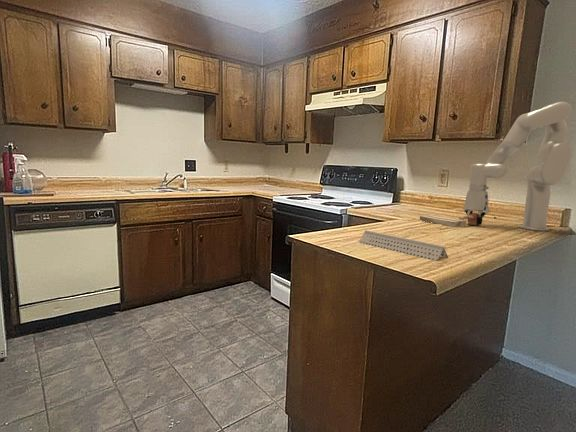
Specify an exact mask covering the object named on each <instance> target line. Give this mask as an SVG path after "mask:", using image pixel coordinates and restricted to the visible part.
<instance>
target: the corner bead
mask: <svg viewBox="0 0 576 432" xmlns="http://www.w3.org/2000/svg"><path fill="white" fill-rule="evenodd" d="M376 241H377V242H376ZM358 242H360V243H359V244H362V243H363V245H366V244H367V246H370V245H371V246H370V247H374V246H375V247H374V248H378V247H379V249H382V248H383V249H382V250H387V251H391V250H392V252H395V251H396V252H395V253H399V252H400V254H403V253H404V255H408V256H412V257H417V258H420V259H424V260H428V261H433V262H437V260H439V258H440V257H442V258H447V259H449V256H448V253H447V251H446V249H445V248H446V246H444V245H440V244H434V243H429V242H425V241H420V240H415V239H410V238H405V237H401V236H395V235H391V234H386V233H381V232H376V231H372V230H364V232H363V234H362V235H361V237H360V239H359V240H358ZM398 246H399V247H398Z"/></svg>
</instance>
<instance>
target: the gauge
mask: <svg viewBox="0 0 576 432" xmlns="http://www.w3.org/2000/svg"><path fill="white" fill-rule="evenodd" d="M477 217H479V216H478V212H473V213H470V214H469V216H467V215H464V216H459V217H458V220H464V221H465V220H467V225H471V226H478V225H477Z"/></svg>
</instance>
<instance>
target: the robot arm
mask: <svg viewBox="0 0 576 432" xmlns="http://www.w3.org/2000/svg"><path fill="white" fill-rule="evenodd" d="M572 109H573V108H572V105H571V104H570V103H568V102H566V101H558V102H555V103H554V102H553V103H550V104H548V105H545V106H543V107H542V108H539V109H536V110H533V111H530V112H527V113H523V114H520V115H519V116H518V117H517V118H516V120H515V121H514V122H513V124H512V126H511V127H510V129H509V131H508V133H507V134H506V136H505V137H504V138H503V140H502V142H501V143H500V144H499V145H498V146H497V147H496V149H495V150H494V151H493V152H492V153H491V155H490V156H489V158H488V159H487V161H486V163H473V164H471V165H470V174H469V175H470V177H469V188H468V190H467V192H466V196H465V202H464V205H463V207H462V211H464V212H465V213H466V216H469V214H470V213H474V211H475V212H477V213H478V216H479V217H477V225H476V226H479V225H480V226H481V225H482V223H483V218H484V217H485V216H486V215H487V214H489V213H490V212H491V210H490V208H489V193H488V191H487V190H489V186H487V181H488V179H493V180H494V179H496V180H497V179H502V178H504V177H505V176H506V175H507V172H508V170H507V169H508V168H507V167H506V166H505V165H504V163H505V162H506V161H507V160H508V159H509V158H510V157H511V156H512V155H514V154H516V153H517V152H519V150H521V149H522V147H523V145H524V144H525V142H526V141H527V139H528V138H529V136H530V134H531V133H532V131H535V130H539V129H542V128H545V133H544V136H543V139H542V142H541V145H540V147H539V150H538V151H537V158H538V160H540V161H541V162H542V163H543V164H538V165H534V166H532V167H531V168H529V170H528V172H527V176H526V180H527V182H526V183H527V184H526V185H527V186H526V187H527V188H526V189H527V190H526V198H525V203H524V211H523V212H524V213H523V219H522V220H523V221H522V224H521V223H520V224H519V225H518V228H520V229H523V230H528V231H529V230H530V231H540V232H541V231H543V232H548V231H550V227H549V226H547V225H548V223H549V221H548V220H547V219H548V213H549V205H550V198H551V186H555V185H557V184H559V183H560V182H561V181H562V180H563V179H564V176H565V175H566V172H567V169H568V166H569V164H570V161H571V158H572V155H573V150H572V147H571V145H570V144H568V143H567V142H565V141H566V139H567V135H568V131H569V130H568V128H569V127H568V124H567V122H566V119H567V118H569V117H570V116H571V114H572Z"/></svg>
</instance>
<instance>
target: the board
mask: <svg viewBox="0 0 576 432" xmlns="http://www.w3.org/2000/svg"><path fill="white" fill-rule="evenodd" d="M420 220H422V221H421V222H424V221H427V222H426V223H429V222H432V223H431V224H435V223H436V224H435V225H440V224H441V225H440V226H445V225H446V226H447V227H451V228H455V227H464V226H466V225H467V224H466V223H467V221H466V220H465V219H464V220H460V219H459V218H452V217H447V216H446V217H445V216H440V215H439V216H438V215H432V214H430V215H421V216H419V221H420ZM446 226H445V227H446Z"/></svg>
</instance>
